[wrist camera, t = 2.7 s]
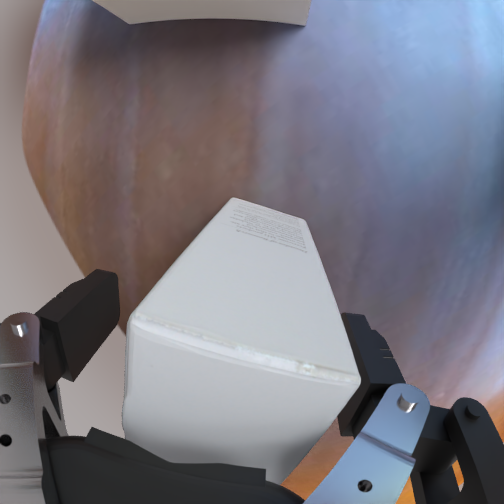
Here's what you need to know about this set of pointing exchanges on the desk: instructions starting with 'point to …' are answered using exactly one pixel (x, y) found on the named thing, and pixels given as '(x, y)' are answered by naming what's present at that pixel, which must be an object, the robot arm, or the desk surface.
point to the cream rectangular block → (209, 10)
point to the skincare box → (238, 348)
